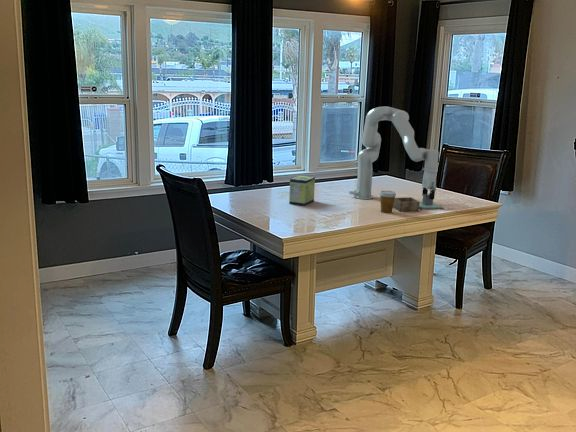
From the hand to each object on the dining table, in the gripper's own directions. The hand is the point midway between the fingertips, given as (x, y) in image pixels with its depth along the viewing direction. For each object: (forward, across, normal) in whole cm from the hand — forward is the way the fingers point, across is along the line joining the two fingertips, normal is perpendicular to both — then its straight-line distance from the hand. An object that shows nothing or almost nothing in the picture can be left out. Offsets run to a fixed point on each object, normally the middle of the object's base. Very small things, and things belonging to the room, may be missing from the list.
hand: (428, 197), depth 362 cm
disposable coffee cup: (+6, +11, -31) cm, 33 cm away
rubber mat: (+6, 0, 0) cm, 6 cm away
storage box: (+6, +6, -17) cm, 19 cm away
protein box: (+6, -17, -76) cm, 78 cm away
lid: (+5, 0, 0) cm, 5 cm away
